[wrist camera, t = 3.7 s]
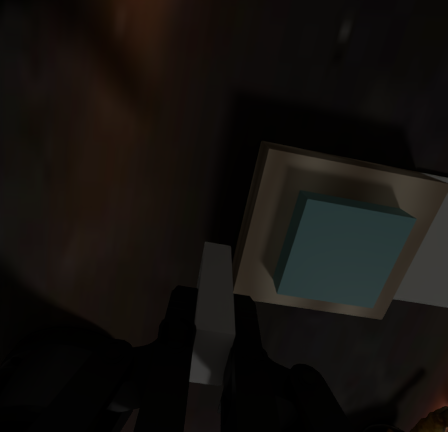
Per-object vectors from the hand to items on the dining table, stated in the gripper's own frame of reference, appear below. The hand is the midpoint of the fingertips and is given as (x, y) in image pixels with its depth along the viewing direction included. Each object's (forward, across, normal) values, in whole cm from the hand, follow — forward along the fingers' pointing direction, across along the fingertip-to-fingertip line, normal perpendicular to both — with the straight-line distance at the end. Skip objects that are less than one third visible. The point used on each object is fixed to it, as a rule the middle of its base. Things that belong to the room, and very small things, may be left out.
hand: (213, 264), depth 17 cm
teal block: (+6, +10, 0) cm, 11 cm away
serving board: (+10, +10, 0) cm, 14 cm away
